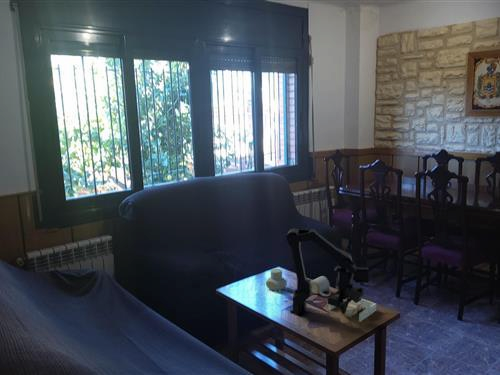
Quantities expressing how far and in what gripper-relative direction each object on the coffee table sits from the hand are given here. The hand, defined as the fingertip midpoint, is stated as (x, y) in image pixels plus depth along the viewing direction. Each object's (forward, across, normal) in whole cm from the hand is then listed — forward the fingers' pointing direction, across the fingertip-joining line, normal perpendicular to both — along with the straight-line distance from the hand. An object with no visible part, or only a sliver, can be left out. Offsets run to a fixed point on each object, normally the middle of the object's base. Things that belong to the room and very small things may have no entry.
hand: (343, 313), depth 194 cm
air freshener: (+2, +3, +42) cm, 42 cm away
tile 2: (+1, +9, 0) cm, 9 cm away
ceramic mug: (+2, +14, +22) cm, 26 cm away
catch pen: (+1, +8, 0) cm, 8 cm away
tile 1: (+1, +4, 0) cm, 4 cm away
